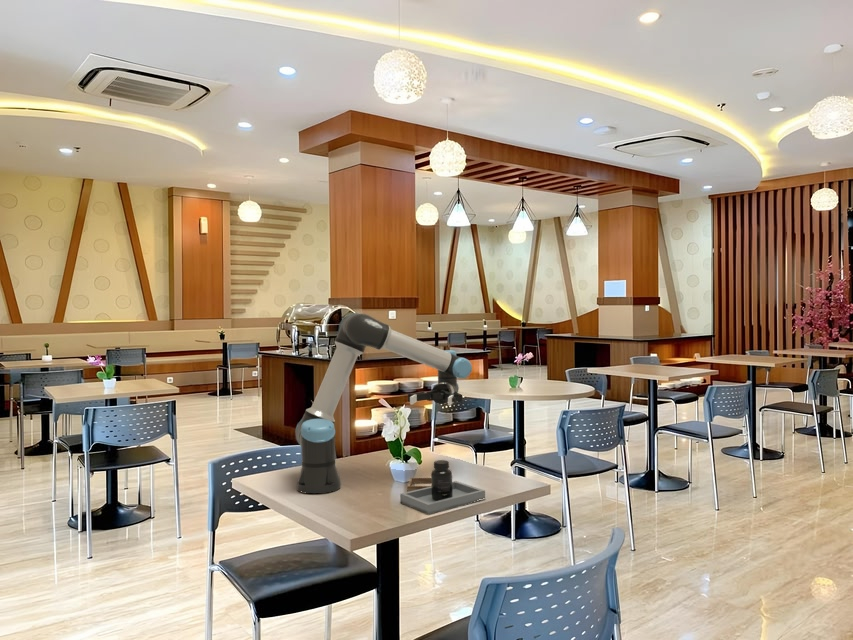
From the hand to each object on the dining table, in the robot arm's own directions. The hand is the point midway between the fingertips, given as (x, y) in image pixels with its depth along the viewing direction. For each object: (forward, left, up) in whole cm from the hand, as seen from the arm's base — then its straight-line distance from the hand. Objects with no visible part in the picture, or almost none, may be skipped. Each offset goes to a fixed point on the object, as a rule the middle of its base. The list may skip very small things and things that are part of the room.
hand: (429, 401), depth 216 cm
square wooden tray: (+1, -2, -30) cm, 30 cm away
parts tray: (+17, +5, -30) cm, 35 cm away
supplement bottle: (+17, +4, -29) cm, 34 cm away
